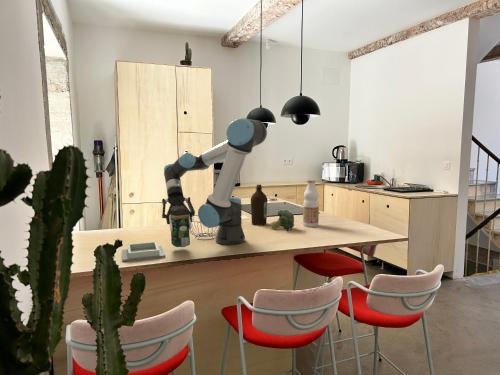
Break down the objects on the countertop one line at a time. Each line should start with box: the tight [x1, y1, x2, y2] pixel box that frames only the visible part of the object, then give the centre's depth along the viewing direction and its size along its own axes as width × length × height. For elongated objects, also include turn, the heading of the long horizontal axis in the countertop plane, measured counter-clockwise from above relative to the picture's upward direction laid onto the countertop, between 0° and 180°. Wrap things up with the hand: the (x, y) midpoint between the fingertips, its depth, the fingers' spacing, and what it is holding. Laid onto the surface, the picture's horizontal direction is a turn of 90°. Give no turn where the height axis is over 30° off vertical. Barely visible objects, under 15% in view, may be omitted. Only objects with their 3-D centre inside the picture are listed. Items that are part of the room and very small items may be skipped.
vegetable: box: [269, 209, 295, 231], centre depth 210 cm, size 12×13×15 cm
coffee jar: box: [170, 206, 191, 248], centre depth 167 cm, size 10×8×19 cm
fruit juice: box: [302, 179, 320, 228], centre depth 219 cm, size 9×9×28 cm
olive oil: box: [250, 184, 268, 226], centre depth 224 cm, size 11×11×25 cm
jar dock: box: [121, 241, 166, 263], centre depth 162 cm, size 18×16×4 cm
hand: (181, 228), depth 164 cm, fingers closed on coffee jar, 8 cm apart
